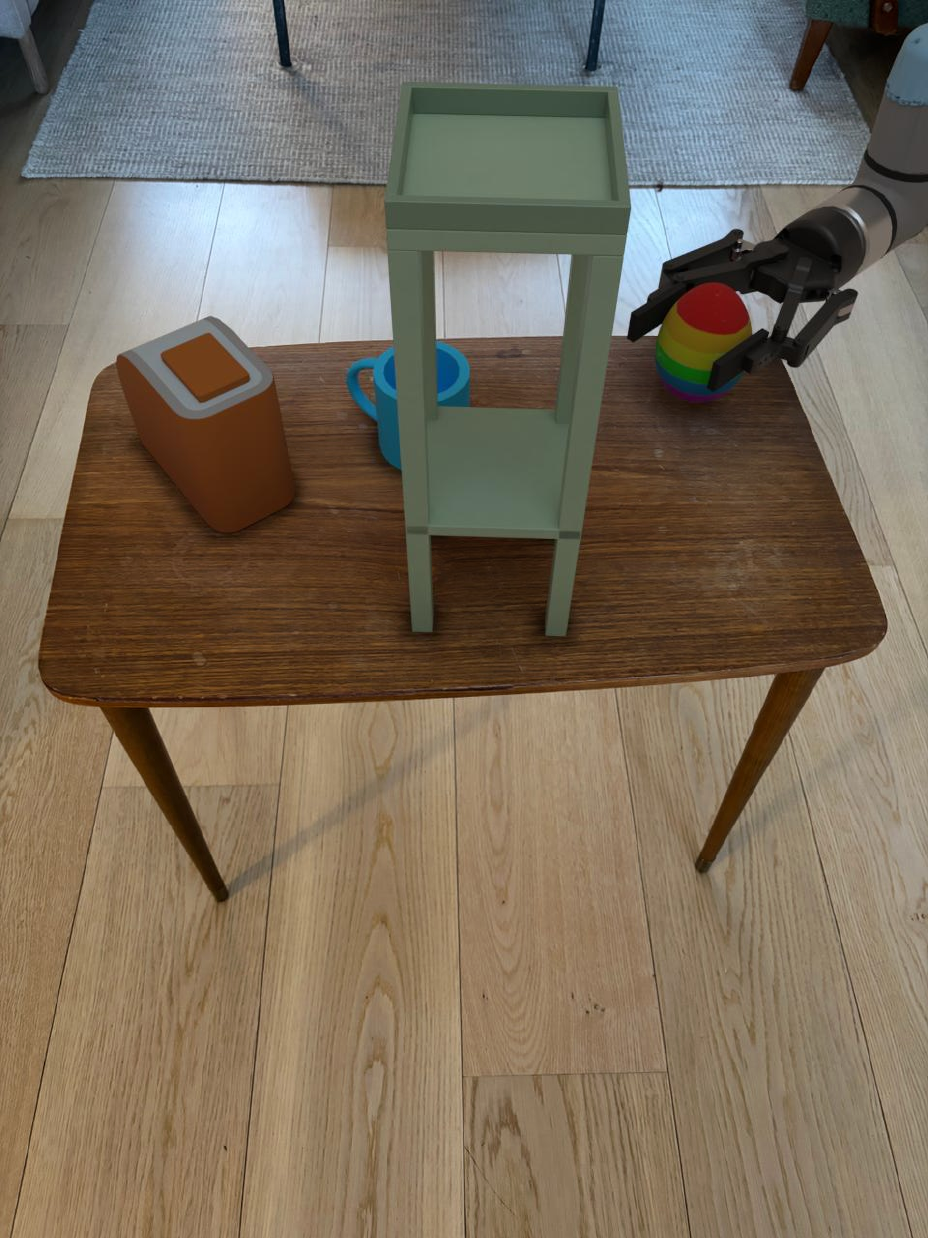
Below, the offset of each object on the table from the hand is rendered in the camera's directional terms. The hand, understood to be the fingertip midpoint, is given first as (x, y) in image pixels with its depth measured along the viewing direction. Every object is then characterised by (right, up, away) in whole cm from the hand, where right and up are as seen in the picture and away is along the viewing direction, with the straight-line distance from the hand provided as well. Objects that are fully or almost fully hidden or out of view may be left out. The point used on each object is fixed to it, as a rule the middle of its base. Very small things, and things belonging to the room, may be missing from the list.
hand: (672, 351), depth 83 cm
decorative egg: (+3, -1, +7) cm, 8 cm away
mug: (-23, -6, +7) cm, 25 cm away
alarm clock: (-39, -9, +5) cm, 40 cm away
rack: (-15, -19, -2) cm, 24 cm away
